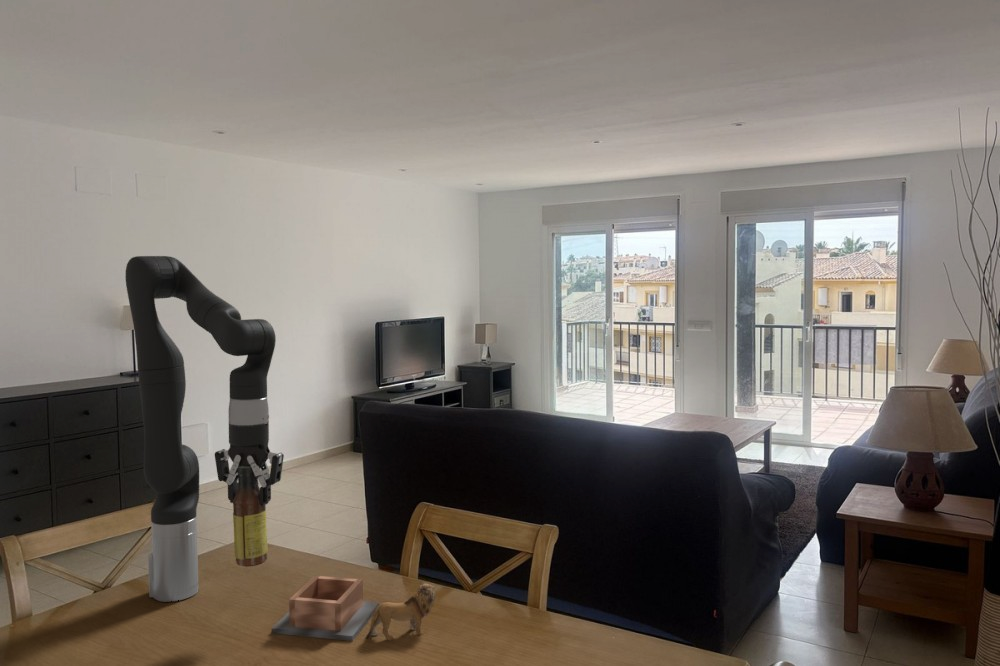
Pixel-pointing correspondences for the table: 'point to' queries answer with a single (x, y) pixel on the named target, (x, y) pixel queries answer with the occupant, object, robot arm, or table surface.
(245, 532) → the sauce bottle
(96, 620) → the table surface
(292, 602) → the bottle holder
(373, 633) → the lion figurine
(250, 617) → the table surface
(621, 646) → the table surface
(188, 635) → the table surface
